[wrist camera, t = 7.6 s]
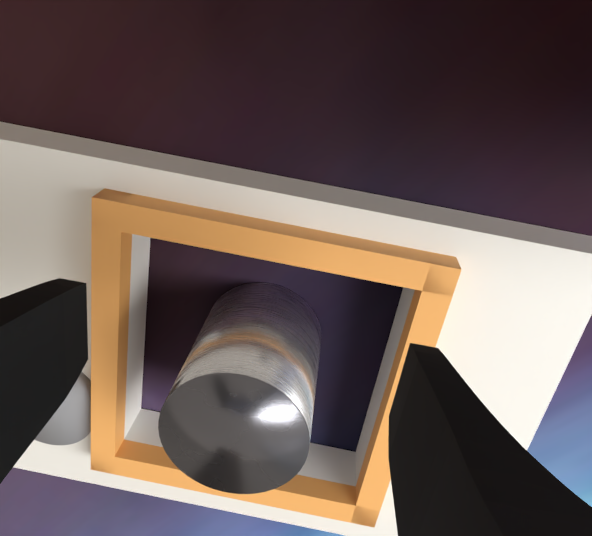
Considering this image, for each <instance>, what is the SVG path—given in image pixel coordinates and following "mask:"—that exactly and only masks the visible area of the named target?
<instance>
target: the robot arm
mask: <svg viewBox="0 0 592 536" xmlns="http://www.w3.org/2000/svg"><path fill="white" fill-rule="evenodd" d="M87 361H88V331H87V288H86V283H83V282H78V281H73V280H67V279H62V278H58V279H54V280H51V281H47V282H44V283H41V284H38V285H36V286H33V287H30V288H27V289H25V290H22V291H19V292H16V293H14V294H11V295H8V296H6V297H3V298H0V484H1V482H2V481H3V479H4V478H5V477H6V475H7V474H8V473H9V471H10V470H11V469H12V468H13V466H14V465H15V464H16V462H17V461H18V460H19V459H20V457H21V456H22V455H23V453H24V452H25V451H26V450H27V448H28V447H29V446H30V444H31V443H32V442H33V441H34V439H35V438H36V437H37V435H38V434H39V433H40V432H41V430H42V429H43V428H44V426H45V425H46V424H47V423H48V421H49V420H50V419H51V417H52V416H53V415H54V413H55V412H56V411H57V409H58V408H59V407H60V405H61V404H62V403H63V401H64V400H65V399H66V397H67V396H68V394H69V393H70V391H71V389H72V387H73V386H74V384H75V382H76V381H77V379H78V377H79V375H80V373H81V372H82V370H83V368H84V366H85V364H86V362H87ZM388 458H389V467H390V476H391V484H392V493H393V500H394V508H395V516H396V524H397V532H398V536H592V507H591V506H589V505H588V504H587V503H585V502H584V501H583V500H582V499H580V498H579V497H578V496H577V495H575V494H574V493H573V492H572V491H571V490H569V489H568V488H567V487H566V486H565V485H563V484H562V483H561V482H560V481H559V480H558V479H557V478H556V477H555V476H553V475H552V474H551V473H550V472H549V471H548V470H547V469H546V468H545V467H544V466H542V465H541V464H540V463H539V462H538V461H537V460H536V459H535V458H534V457H533V456H532V455H531V454H530V453H529V452H528V451H527V450H525V449H524V448H523V447H522V446H521V445H520V443H519V442H518V441H517V440H516V439H515V438H514V437H513V436H512V435H511V434H510V433H509V432H508V431H507V430H506V429H505V428H504V427H503V426H502V424H501V423H500V422H499V421H498V420H497V419H496V418H495V417H494V416H493V414H492V413H491V412H490V411H489V410H488V409H487V407H486V406H485V405H484V404H483V403H482V402H481V400H480V399H479V398H478V397H477V396H476V394H475V393H474V392H473V391H472V389H471V388H470V387H469V386H468V385H467V383H466V382H465V381H464V379H463V378H462V377H461V376H460V374H459V373H458V372H457V371H456V369H455V368H454V367H453V366H452V364H451V363H450V362H449V360H448V359H447V358H446V357H445V355H444V354H443V353H442V352H441V351H440V350H439V348H436V347H430V346H425V345H419V344H414V343H410V345H409V348H408V352H407V355H406V359H405V362H404V365H403V369H402V372H401V376H400V379H399V383H398V386H397V390H396V393H395V397H394V400H393V403H392V407H391V410H390V414H389V436H388Z"/></svg>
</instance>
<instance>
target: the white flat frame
mask: <svg viewBox="0 0 592 536" xmlns="http://www.w3.org/2000/svg"><path fill="white" fill-rule="evenodd" d="M150 238H155V239H160V240H165V241H170V242H176V243H181V244H186V245H191V246H196V247H201V248H206V249H211V250H216V251H221V252H226V253H232V254H237V255H242V256H247V257H252V258H257V259H262V260H267V261H272V262H277V263H282V264H287V265H293V266H298V267H303V268H308V269H313V270H318V271H323V272H328V273H333V274H338V275H343V276H349V277H354V278H359V279H364V280H369V281H374V282H379V283H384V284H389V285H394V286H399V287H403V290H402V293H401V297H400V300H399V304H398V307H397V311H396V314H395V318H394V321H393V324H392V328H391V331H390V335H389V338H388V342H387V345H386V349H385V352H384V356H383V359H382V362H381V366H380V369H379V373H378V376H377V380H376V383H375V387H374V390H373V393H372V397H371V400H370V404H369V407H368V411H367V414H366V418H365V421H364V424H363V428H362V431H361V435H360V438H359V442H358V445H357V449H356V452H354V451H349V450H344V449H339V448H334V447H329V446H324V445H319V444H314V443H310V447H309V452H308V457H307V459H306V462H305V464H304V465H303V467H302V469H301V470H300V471H299V472H298V474H297V475H296V476H295V477H293V478H292V479H291V480H290V481H288V482H287V483H285V484H284V485H282V486H280V487H278V488H276V489H273V490H270V491H266V492H262V493H255V494H234V493H227V492H222V491H218V490H215V489H212V488H209V487H207V486H204V485H202V484H200V483H198V482H196V481H195V480H193V479H191V478H190V477H188V476H187V475H186V474H184V473H183V472H182V471H181V470H180V469H179V468H178V467H177V466H176V465H175V464H174V463H173V462H172V461H171V460H170V458H169V457H168V455H167V454H166V452H165V450H164V448H163V446H162V444H161V440H160V437H159V430H158V421H159V416H160V412H156V411H151V410H146V409H141V400H142V382H143V364H144V346H145V328H146V310H147V292H148V274H149V256H150ZM58 278H62V279H67V280H73V281H78V282H83V283H86V288H87V331H88V361H87V362H86V364H85V366H84V368H83V370H82V372H81V373H80V375H79V377H78V379H77V381H76V382H75V384H74V386H73V387H72V389H71V391H70V393H69V394H68V396H67V397H66V399H65V400H64V401H63V403H62V404H61V405H60V407H59V408H58V409H57V411H56V412H55V413H54V415H53V416H52V417H51V419H50V420H49V421H48V423H47V424H46V425H45V426H44V428H43V429H42V430H41V432H40V433H39V434H38V435H37V437H36V438H35V439H34V441H33V442H32V443H31V444H30V446H29V447H28V448H27V450H26V451H25V452H24V453H23V455H22V456H21V457H20V459H19V460H18V461H17V462H16V464H15V465H14V466H13V467H15V468H20V469H24V470H29V471H34V472H39V473H44V474H49V475H54V476H59V477H63V478H68V479H73V480H78V481H83V482H88V483H93V484H98V485H102V486H107V487H112V488H117V489H122V490H127V491H132V492H137V493H141V494H146V495H151V496H156V497H161V498H166V499H171V500H176V501H181V502H185V503H190V504H195V505H200V506H205V507H210V508H215V509H220V510H224V511H229V512H234V513H239V514H244V515H249V516H254V517H259V518H263V519H268V520H273V521H278V522H283V523H288V524H293V525H298V526H303V527H307V528H312V529H317V530H322V531H327V532H332V533H337V534H342V535H346V536H398V532H397V524H396V516H395V508H394V500H393V493H392V484H391V476H390V467H389V458H388V436H389V414H390V410H391V407H392V403H393V400H394V397H395V393H396V390H397V386H398V383H399V379H400V376H401V372H402V369H403V365H404V362H405V359H406V355H407V352H408V348H409V345H410V343H414V344H419V345H425V346H430V347H436V348H439V350H440V351H441V352H442V353H443V354H444V355H445V357H446V358H447V359H448V360H449V362H450V363H451V364H452V366H453V367H454V368H455V369H456V371H457V372H458V373H459V374H460V376H461V377H462V378H463V379H464V381H465V382H466V383H467V385H468V386H469V387H470V388H471V389H472V391H473V392H474V393H475V394H476V396H477V397H478V398H479V399H480V400H481V402H482V403H483V404H484V405H485V406H486V407H487V409H488V410H489V411H490V412H491V413H492V414H493V416H494V417H495V418H496V419H497V420H498V421H499V422H500V423H501V424H502V426H503V427H504V428H505V429H506V430H507V431H508V432H509V433H510V434H511V435H512V436H513V437H514V438H515V439H516V440H517V441H518V442H519V443H520V445H521V446H522V447H523V448H524V449H525V450H527V449H528V447H529V445H530V443H531V441H532V439H533V437H534V435H535V432H536V430H537V428H538V426H539V424H540V422H541V420H542V418H543V416H544V413H545V411H546V409H547V407H548V405H549V403H550V401H551V399H552V397H553V394H554V392H555V390H556V388H557V386H558V384H559V382H560V380H561V378H562V376H563V373H564V371H565V369H566V367H567V365H568V363H569V361H570V359H571V357H572V354H573V352H574V350H575V348H576V346H577V344H578V342H579V340H580V338H581V336H582V333H583V331H584V329H585V327H586V325H587V323H588V321H589V319H590V317H591V314H592V236H588V235H583V234H578V233H573V232H568V231H562V230H557V229H552V228H547V227H542V226H537V225H532V224H526V223H521V222H516V221H511V220H506V219H501V218H495V217H490V216H485V215H480V214H475V213H470V212H464V211H459V210H454V209H449V208H444V207H439V206H433V205H428V204H423V203H418V202H413V201H408V200H402V199H397V198H392V197H387V196H382V195H377V194H371V193H366V192H361V191H356V190H351V189H346V188H341V187H335V186H330V185H325V184H320V183H315V182H310V181H304V180H299V179H294V178H289V177H284V176H279V175H273V174H268V173H263V172H258V171H253V170H248V169H242V168H237V167H232V166H227V165H222V164H217V163H211V162H206V161H201V160H196V159H191V158H186V157H181V156H175V155H170V154H165V153H160V152H155V151H150V150H144V149H139V148H134V147H129V146H124V145H119V144H113V143H108V142H103V141H98V140H93V139H88V138H82V137H77V136H72V135H67V134H62V133H57V132H51V131H46V130H41V129H36V128H31V127H26V126H21V125H15V124H10V123H5V122H0V298H3V297H6V296H8V295H11V294H14V293H16V292H19V291H22V290H25V289H27V288H30V287H33V286H36V285H38V284H41V283H44V282H47V281H51V280H54V279H58Z"/></svg>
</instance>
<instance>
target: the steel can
mask: <svg viewBox="0 0 592 536" xmlns="http://www.w3.org/2000/svg"><path fill="white" fill-rule="evenodd" d="M320 346H321V328H320V324H319V321H318V319H317V316H316V314H315V313H314V311H313V309H312V308H311V307H310V306H309V304H308V303H307V302H306V301H305V300H304V299H303V298H301V297H300V296H299V295H297V294H296V293H294V292H292V291H291V290H289V289H287V288H284V287H282V286H278V285H275V284H270V283H248V284H243V285H240V286H237V287H235V288H233V289H231V290H229V291H227V292H226V293H224V294H223V295H222V296H221V297H220V298H219V299H218V300H217V301H216V302H215V304H214V305H213V307H212V309H211V311H210V313H209V315H208V317H207V319H206V321H205V323H204V325H203V327H202V329H201V331H200V333H199V335H198V337H197V339H196V341H195V343H194V345H193V347H192V349H191V351H190V353H189V355H188V357H187V359H186V361H185V363H184V365H183V367H182V369H181V371H180V373H179V375H178V377H177V379H176V381H175V383H174V385H173V387H172V389H171V391H170V393H169V395H168V397H167V399H166V401H165V403H164V405H163V407H162V409H161V412H160V416H159V421H158V430H159V437H160V440H161V444H162V446H163V448H164V450H165V452H166V454H167V455H168V457H169V458H170V460H171V461H172V462H173V463H174V464H175V465H176V466H177V467H178V468H179V469H180V470H181V471H182V472H183V473H184V474H186V475H187V476H188V477H190V478H191V479H193V480H195V481H196V482H198V483H200V484H202V485H204V486H207V487H209V488H212V489H215V490H218V491H222V492H227V493H234V494H255V493H262V492H266V491H270V490H273V489H276V488H278V487H280V486H282V485H284V484H285V483H287V482H288V481H290V480H291V479H292V478H293V477H295V476H296V475H297V474H298V472H299V471H300V470H301V469H302V467H303V465H304V464H305V462H306V459H307V457H308V452H309V447H310V438H311V428H312V419H313V410H314V401H315V392H316V383H317V374H318V365H319V356H320Z"/></svg>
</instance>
